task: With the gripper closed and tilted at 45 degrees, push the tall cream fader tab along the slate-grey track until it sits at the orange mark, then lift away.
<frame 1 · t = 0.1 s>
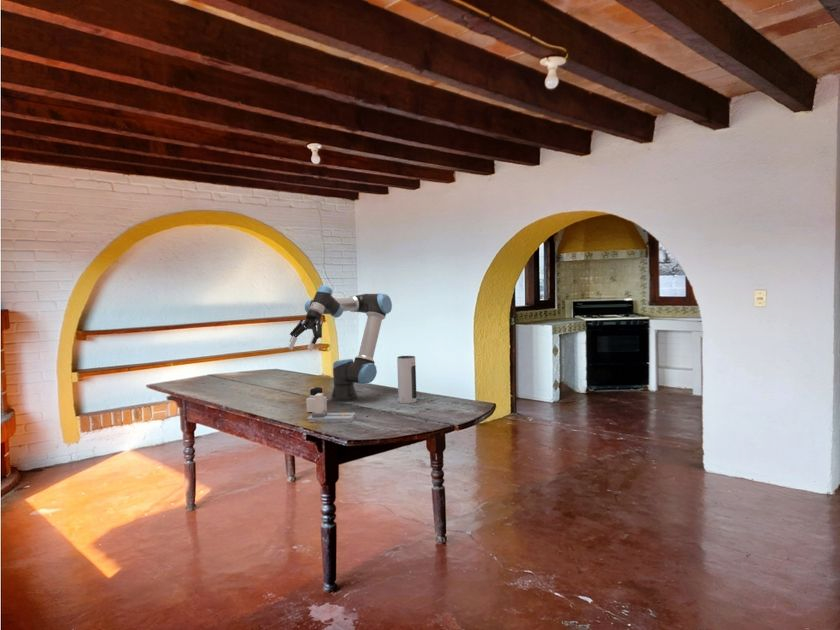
hand: (299, 348, 295), 36 cm above the table, tool tilted 35°, fingers open, 13 cm apart
container: (316, 412, 314), on the table
fader: (319, 404, 296), point 8 cm above the table, slide at -6.0 cm
speaker: (407, 402, 333), on the table
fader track: (331, 419, 296), on the table
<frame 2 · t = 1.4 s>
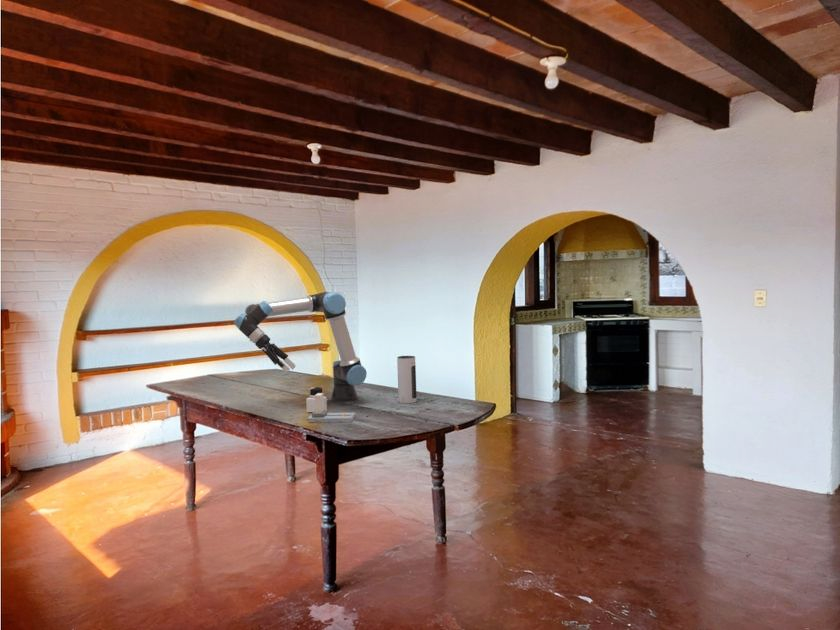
hand: (291, 369, 300), 25 cm above the table, tool tilted 45°, fingers open, 10 cm apart
nothing on the table moved.
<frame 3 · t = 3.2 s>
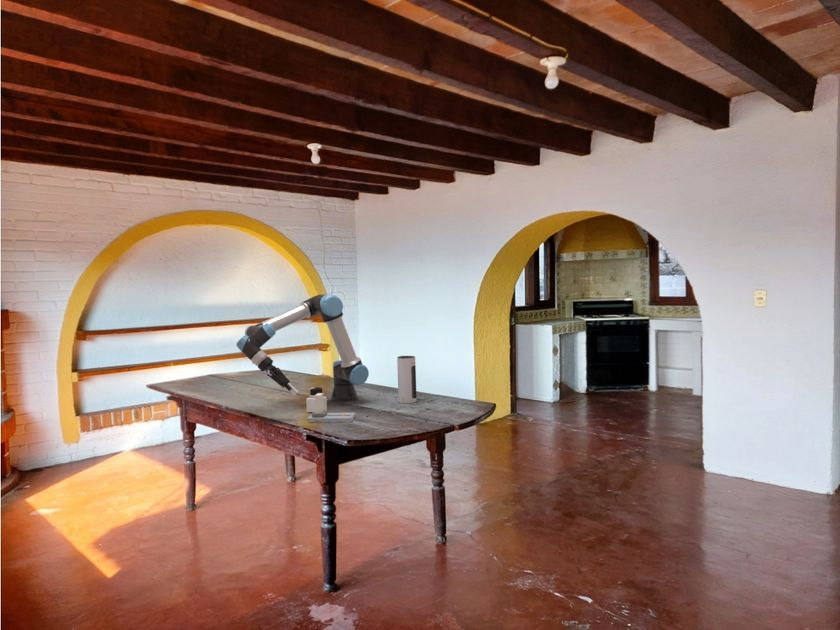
hand: (296, 393, 296), 13 cm above the table, tool tilted 45°, fingers closed
nothing on the table moved.
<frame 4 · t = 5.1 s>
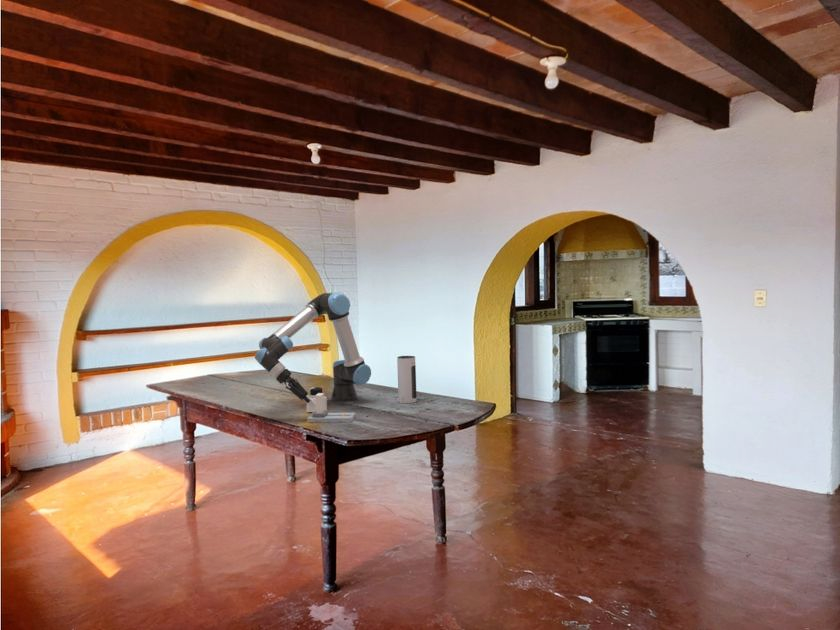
hand: (314, 405, 296), 7 cm above the table, tool tilted 45°, fingers closed
fader: (319, 404, 296), point 8 cm above the table, slide at -5.7 cm, touching gripper
everything else where it was.
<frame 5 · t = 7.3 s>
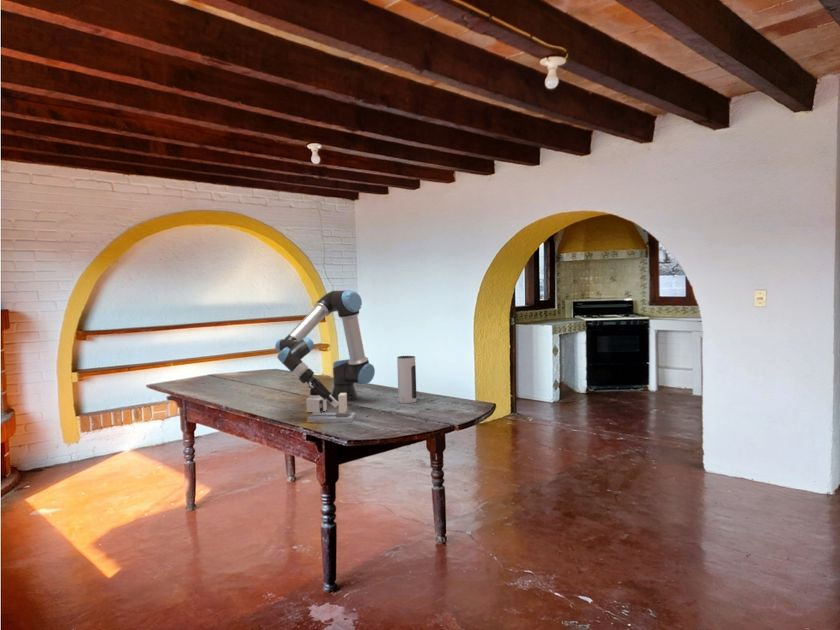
hand: (337, 405, 295), 7 cm above the table, tool tilted 45°, fingers closed
fader: (342, 404, 295), point 8 cm above the table, slide at 5.9 cm, touching gripper
everything else where it was.
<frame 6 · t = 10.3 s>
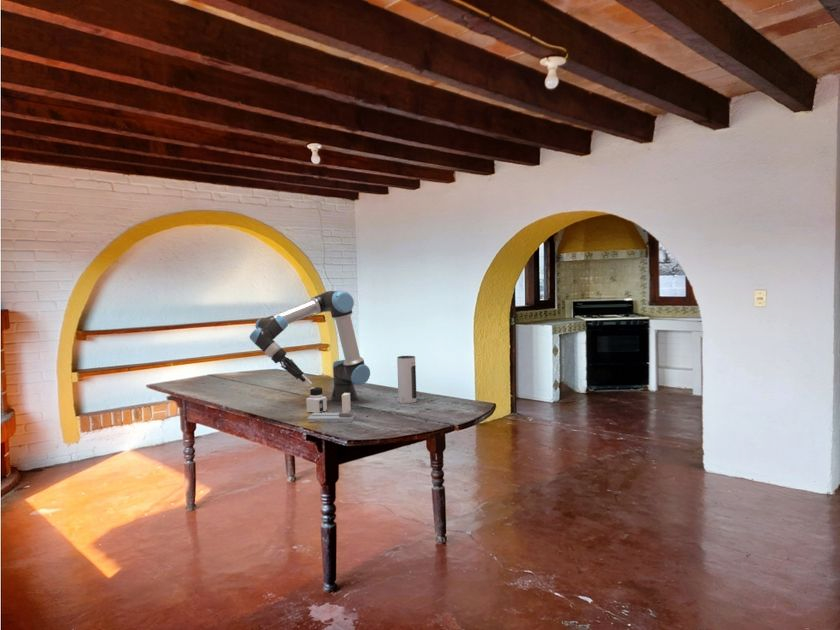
hand: (310, 385, 297), 17 cm above the table, tool tilted 45°, fingers closed
fader: (346, 404, 294), point 8 cm above the table, slide at 7.7 cm
everything else where it was.
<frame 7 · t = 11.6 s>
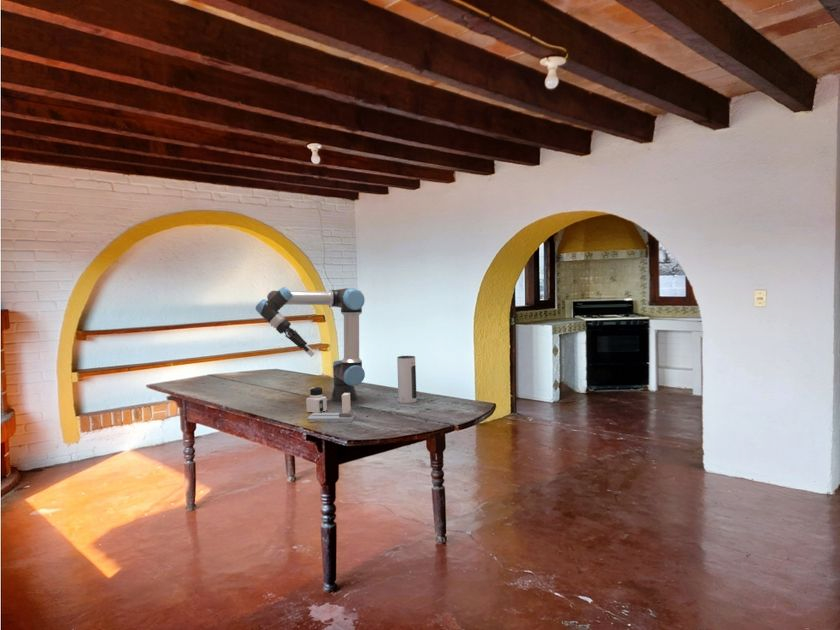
hand: (313, 354, 308), 31 cm above the table, tool tilted 45°, fingers closed
nothing on the table moved.
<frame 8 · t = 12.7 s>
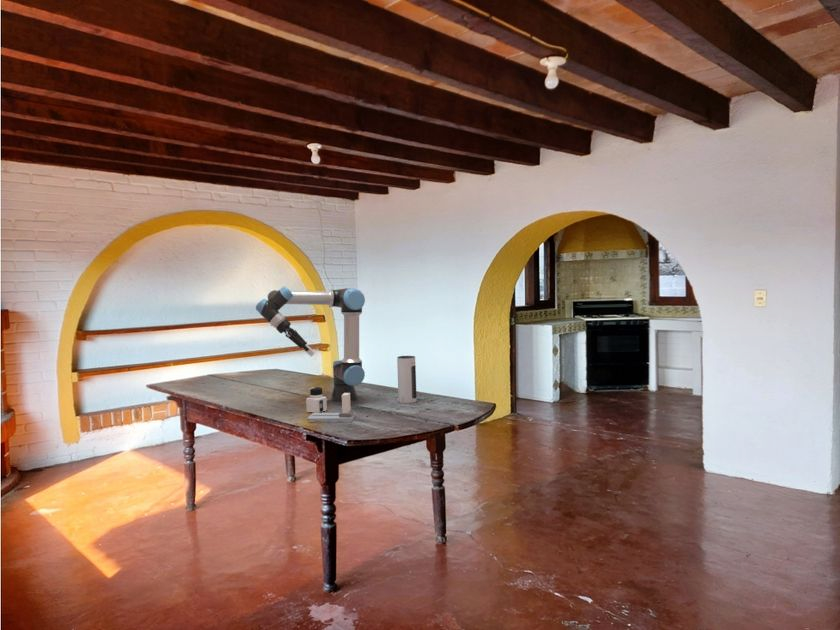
hand: (313, 354, 309), 31 cm above the table, tool tilted 45°, fingers closed
nothing on the table moved.
at the end: fader slide at 7.7 cm; container moved 0.2 cm from its start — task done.
